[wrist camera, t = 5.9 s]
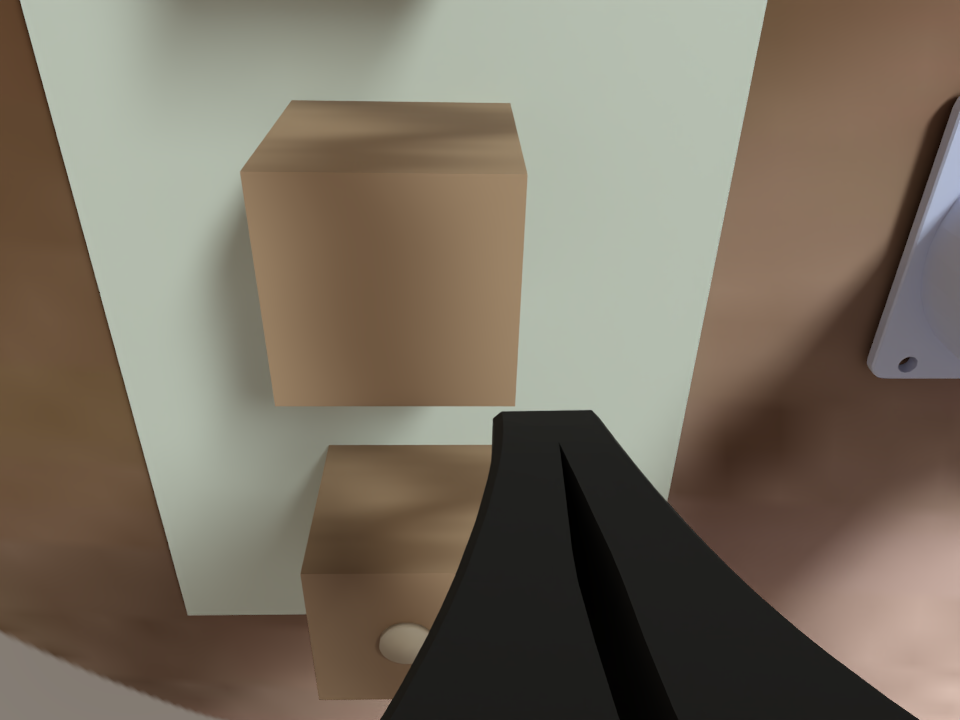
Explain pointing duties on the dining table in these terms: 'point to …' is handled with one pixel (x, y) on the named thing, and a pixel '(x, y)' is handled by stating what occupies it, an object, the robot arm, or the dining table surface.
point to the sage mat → (397, 78)
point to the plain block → (389, 252)
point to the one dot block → (385, 558)
